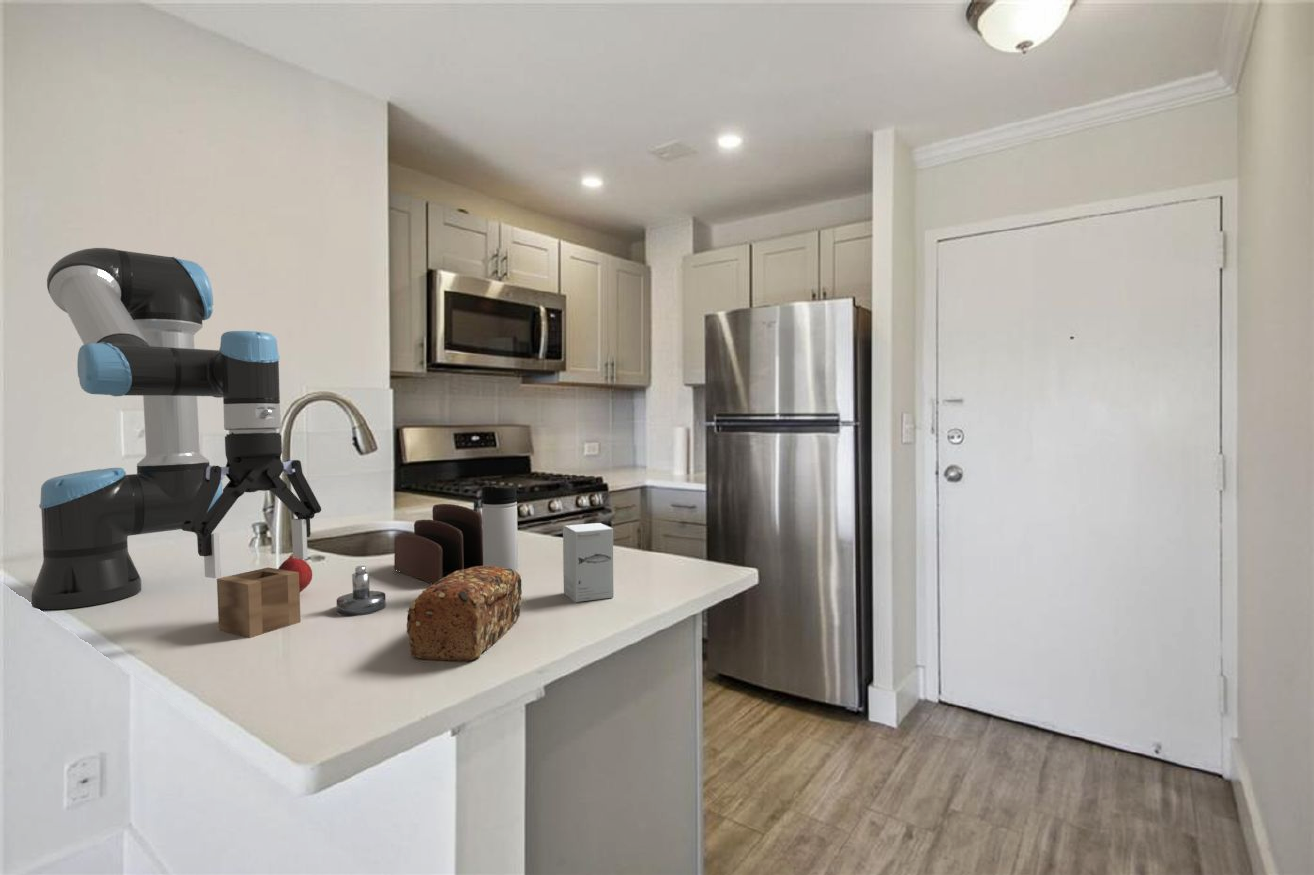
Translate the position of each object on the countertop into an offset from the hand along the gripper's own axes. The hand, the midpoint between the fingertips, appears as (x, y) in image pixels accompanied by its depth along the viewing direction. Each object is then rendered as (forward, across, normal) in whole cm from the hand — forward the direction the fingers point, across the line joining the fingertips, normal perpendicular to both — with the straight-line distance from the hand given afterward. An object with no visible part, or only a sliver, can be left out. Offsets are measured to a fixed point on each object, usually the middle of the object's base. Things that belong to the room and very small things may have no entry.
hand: (259, 567), depth 101 cm
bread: (+10, +10, -34) cm, 37 cm away
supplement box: (+10, +36, -37) cm, 53 cm away
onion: (+9, +13, +12) cm, 20 cm away
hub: (+9, +13, -6) cm, 17 cm away
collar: (+9, 0, 0) cm, 9 cm away
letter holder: (+10, +36, 0) cm, 38 cm away
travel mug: (+10, +31, -22) cm, 39 cm away
